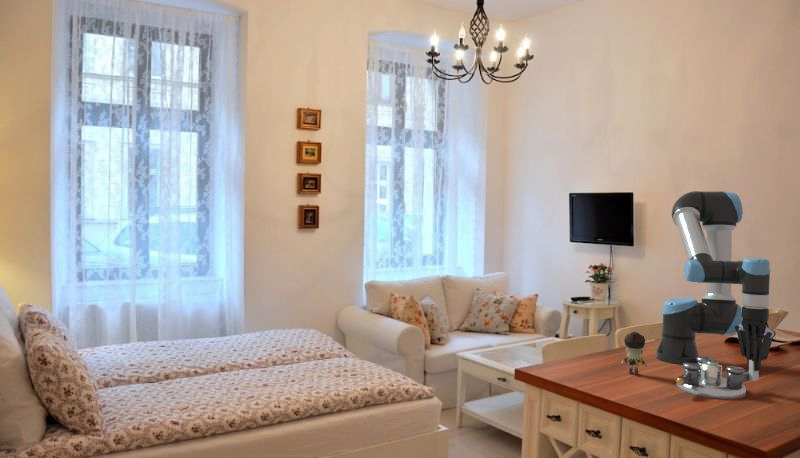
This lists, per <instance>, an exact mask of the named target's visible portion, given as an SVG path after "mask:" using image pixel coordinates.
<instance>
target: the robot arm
mask: <svg viewBox="0 0 800 458" xmlns="http://www.w3.org/2000/svg"><path fill="white" fill-rule="evenodd" d="M671 218H672V222H673V224H674V225H675V226H676V227H677V228H678V232H679V234H680V235H679V236H680V237H681V242H682V244H683V248H684V251H685V254H686V257H687V260H685V263H684V265H683V267H684V268H683V271H684V272H683V273H684V278H685V280H686V281H688V282H690V283H692V282H693V283H698V284H699V283H702V284H703V283H705V294H704V295H703V296H701V301H700V302H698V301H697V299H696V298H695V297H676V298H674V297H673V298H669V299H667V300H665V301H664V303H663V308H662V327H661V328H662V330H661V339H660V342H659V344H658V347H657V349H656V351H655V352H656V353H655V354H656V355H655V357H656V359H658V360H660V361H664V362H667V363H672V364H679V365H683V363H686V362H689V363H696V364H698V361H697V360H696V359H697V357H698V356H700V353H699V349H698V345H697V342H696V334H702V335H704V334H705V335H720V336H733V335H734V334H737V339H738V344H739V349H740V355H741V356H742V357H745V358H746V362H747V363H746V367H747V368H746V369H747V370H748V371H749V380H750V382H756V381H759V372H760V371H761V369H762V364H761V363H762V361H765V360H768V356H769V353H770V350H771V346H772V342H773V339H774V337H775V336H776V335H777V334H776V331H772V330H771V329H770V327H769V324H768V321H769V317H770V316H769V314H770V311H769V308H768V307H770V281H771V278H770V275H771V265H770V260H768V259H767V258H762V257H761V258H759V257H746V258H744V259H743V260H736V261H734V260H732V257H733V256H732V253H733V250H732V247H733V246H732V241H733V239H732V238H733V237H732V236H733V235H732V232H733V231H734V230H735V229H736V228H737V224H739V223H740V222H741V221H742V219H743V203H742V201H741V198H740V196H739V195H738V194H737V193H736V192H732V191H731V192H730V191H697V190H692V191H689V192H686V193H684V194H683V195H681V196H680V197H678V198H677V200H675V203H674V204H673V206H672V208H671ZM701 223H702V224H701ZM703 229H704V230H705V231H706V236H705V233H704V231H703ZM732 285H741V286H742V289H741V305H742V306H741V305H740V304H738V303H737V302H736V301H737V300H736V298H735V297H734V296H733V295H732Z"/></svg>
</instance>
